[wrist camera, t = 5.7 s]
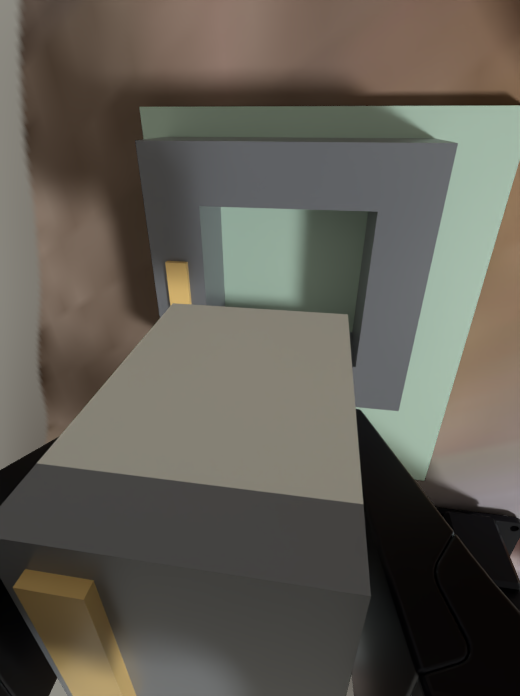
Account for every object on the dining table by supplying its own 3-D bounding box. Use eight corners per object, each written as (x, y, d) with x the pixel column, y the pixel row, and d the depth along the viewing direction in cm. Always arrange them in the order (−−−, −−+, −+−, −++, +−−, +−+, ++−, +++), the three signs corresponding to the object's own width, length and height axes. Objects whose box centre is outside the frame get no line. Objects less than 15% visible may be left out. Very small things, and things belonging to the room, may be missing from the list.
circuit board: (421, 470, 23) (424, 480, 22) (188, 443, 25) (184, 452, 24) (525, 105, 14) (535, 105, 13) (147, 107, 16) (139, 106, 15)
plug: (331, 448, 11) (331, 773, 5) (188, 433, 11) (61, 715, 6) (348, 314, 9) (372, 619, 3) (172, 303, 9) (-40, 552, 4)
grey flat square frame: (389, 372, 19) (399, 414, 17) (190, 355, 21) (168, 392, 18) (435, 138, 14) (459, 143, 12) (167, 136, 16) (132, 141, 13)
